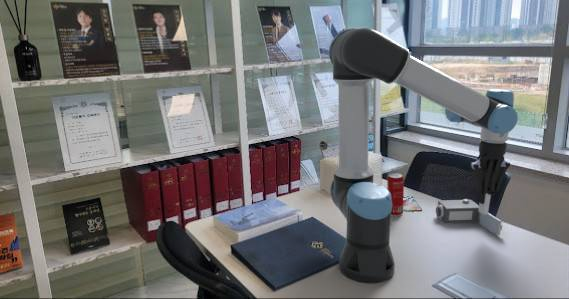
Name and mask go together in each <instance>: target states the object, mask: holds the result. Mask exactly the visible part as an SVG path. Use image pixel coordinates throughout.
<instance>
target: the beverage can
mask: <svg viewBox="0 0 569 299" xmlns="http://www.w3.org/2000/svg"><path fill="white" fill-rule="evenodd" d="M386 180H387V181H386V183H387V184H386V186H387V188H386V189H388V191H389V192H390V194H391V198H392V210H391V217H392V216H393V217H398V216H402V215H403V213H404V210H403V198H404V196H405V195H404V194H405V193H404V189H405V188H404V187H405V178H404V175H403V174H402V173H399V172H390V173H389V174H388V176H387V178H386Z"/></svg>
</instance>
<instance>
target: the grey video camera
mask: <svg viewBox="0 0 569 299" xmlns="http://www.w3.org/2000/svg"><path fill="white" fill-rule="evenodd" d="M478 210H479V204H478V203H476V202H475V201H473V200H472V199H469V198H464V199H448V200H447V199H446V200H443V199H442V200H438V201H437V206H436V207H435V214H436V217H438V219H441V220H442V221H443V223H445V224H468V223H469V224H471V223H472V224H473V222H477V223H478V217H479V211H478Z"/></svg>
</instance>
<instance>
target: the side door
mask: <svg viewBox="0 0 569 299" xmlns="http://www.w3.org/2000/svg"><path fill="white" fill-rule="evenodd" d="M502 222H503V221H502V220H501V219H499V218H498V217H496V216H494V215H493V214H491V213H490V212H488V214H482V213H480V212H479V217H478V222H477V224H480V225H481V226H482V227H485V228H486V229H487V230H489V231H490V232H492V233H493V234H495V235H496V236H501V231H502V230H503V224H502Z"/></svg>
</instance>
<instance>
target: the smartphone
mask: <svg viewBox="0 0 569 299" xmlns="http://www.w3.org/2000/svg"><path fill="white" fill-rule="evenodd" d="M409 196H411V195H409ZM409 196H408V195H407V197H409ZM407 197H404V198H407ZM411 198H414V196H413V195H412V196H411ZM411 198H408V199H406V200H403V212H423V211H422V210H423V208H421V206H420V205H419V203H418V202H417V200H416V199H415V198H414V199H415V200H414V199H413V200H412V202H409V199H411ZM417 203H418V204H417Z"/></svg>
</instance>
